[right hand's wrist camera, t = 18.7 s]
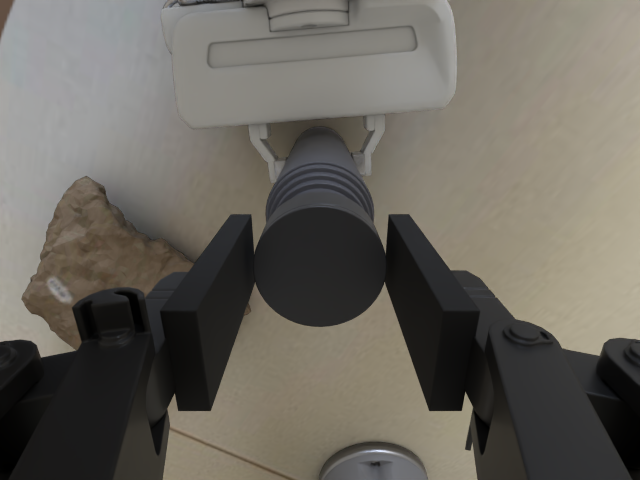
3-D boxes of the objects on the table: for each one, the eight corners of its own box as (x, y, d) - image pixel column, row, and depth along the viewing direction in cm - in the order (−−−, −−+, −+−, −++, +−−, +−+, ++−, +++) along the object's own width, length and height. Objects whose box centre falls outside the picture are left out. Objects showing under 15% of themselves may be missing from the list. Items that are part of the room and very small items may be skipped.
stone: (-5, 279, 37) (-42, 308, 31) (89, 168, 36) (68, 177, 31) (175, 373, 46) (170, 408, 40) (254, 284, 45) (260, 308, 39)
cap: (265, 184, 13) (256, 198, 11) (388, 198, 13) (399, 214, 12) (258, 293, 15) (249, 320, 13) (368, 304, 15) (374, 333, 13)
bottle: (358, 151, 36) (427, 255, 13) (323, 191, 37) (328, 350, 14) (316, 114, 34) (309, 156, 11) (282, 158, 36) (214, 272, 13)
